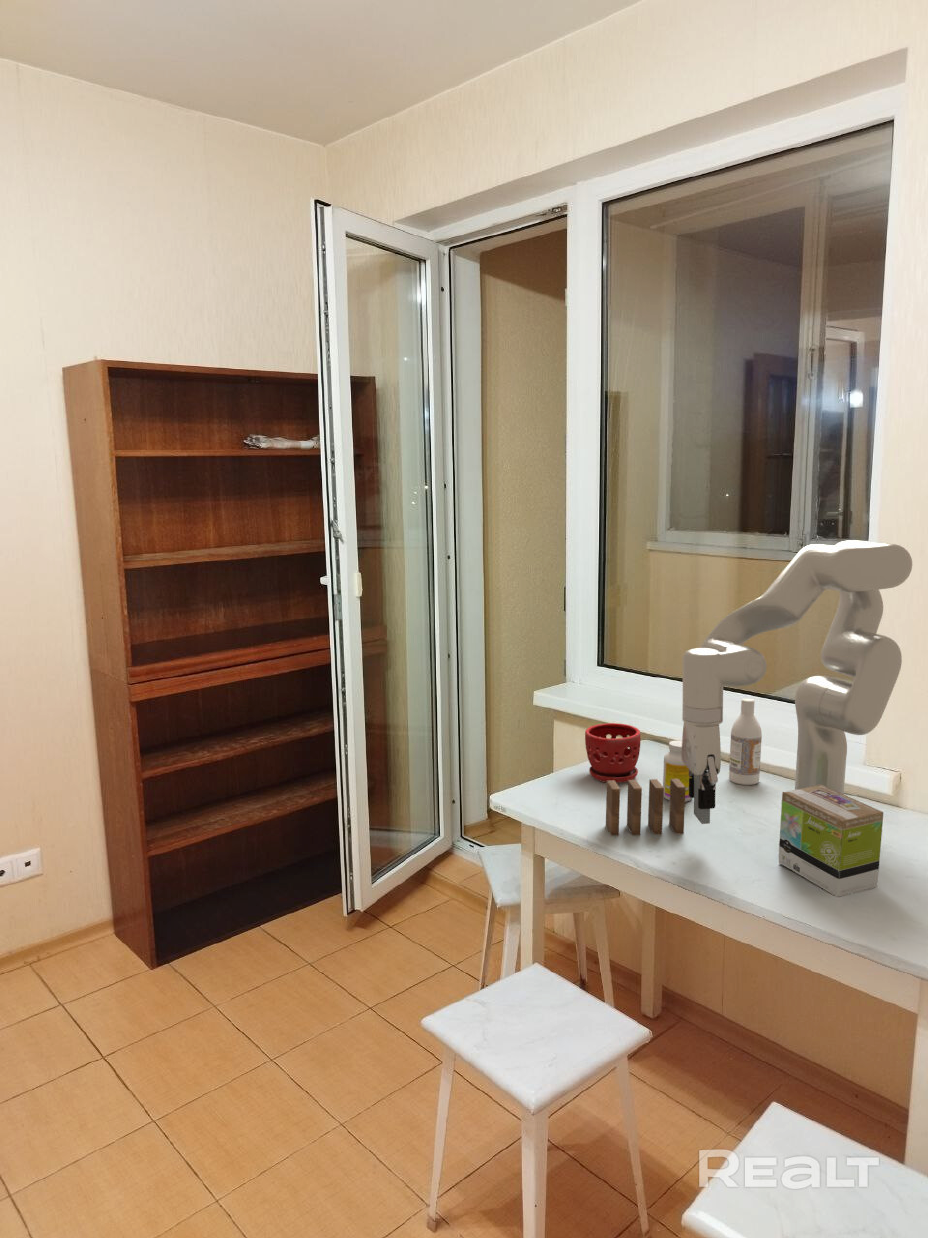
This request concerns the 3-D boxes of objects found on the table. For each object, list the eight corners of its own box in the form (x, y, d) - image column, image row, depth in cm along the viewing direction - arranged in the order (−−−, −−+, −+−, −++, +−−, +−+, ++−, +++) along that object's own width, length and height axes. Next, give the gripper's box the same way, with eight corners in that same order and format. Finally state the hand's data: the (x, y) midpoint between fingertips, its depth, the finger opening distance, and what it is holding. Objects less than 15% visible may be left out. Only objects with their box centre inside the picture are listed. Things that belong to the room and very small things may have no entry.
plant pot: (606, 765, 226) (607, 719, 224) (650, 777, 217) (651, 729, 215) (573, 777, 217) (574, 729, 215) (617, 791, 208) (619, 741, 206)
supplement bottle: (695, 803, 200) (697, 748, 198) (665, 803, 200) (667, 748, 198) (688, 792, 207) (691, 739, 204) (660, 792, 207) (661, 739, 205)
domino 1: (613, 825, 188) (614, 780, 186) (618, 835, 183) (620, 789, 181) (605, 826, 188) (606, 780, 186) (611, 835, 183) (612, 789, 181)
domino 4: (676, 824, 189) (678, 778, 187) (683, 833, 184) (685, 787, 182) (669, 824, 189) (670, 778, 187) (676, 833, 184) (677, 787, 182)
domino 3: (655, 824, 188) (657, 779, 187) (662, 834, 184) (663, 787, 182) (648, 824, 188) (649, 779, 187) (654, 834, 183) (655, 788, 182)
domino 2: (634, 825, 188) (635, 779, 187) (640, 835, 183) (641, 788, 182) (626, 825, 188) (628, 780, 186) (632, 835, 183) (634, 788, 182)
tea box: (775, 864, 170) (780, 790, 167) (816, 855, 174) (821, 782, 171) (837, 899, 156) (842, 818, 153) (879, 888, 160) (886, 809, 157)
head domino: (701, 813, 178) (702, 765, 176) (709, 823, 173) (710, 774, 171) (693, 813, 178) (693, 766, 176) (701, 824, 173) (702, 775, 171)
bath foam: (750, 788, 209) (754, 705, 206) (723, 780, 214) (727, 699, 211) (764, 780, 214) (768, 699, 211) (738, 773, 219) (741, 694, 216)
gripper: (670, 702, 180) (670, 787, 183) (697, 727, 163) (696, 821, 166) (707, 699, 180) (706, 785, 184) (737, 725, 163) (736, 819, 167)
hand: (701, 801), depth 175 cm, fingers closed on head domino, 4 cm apart
